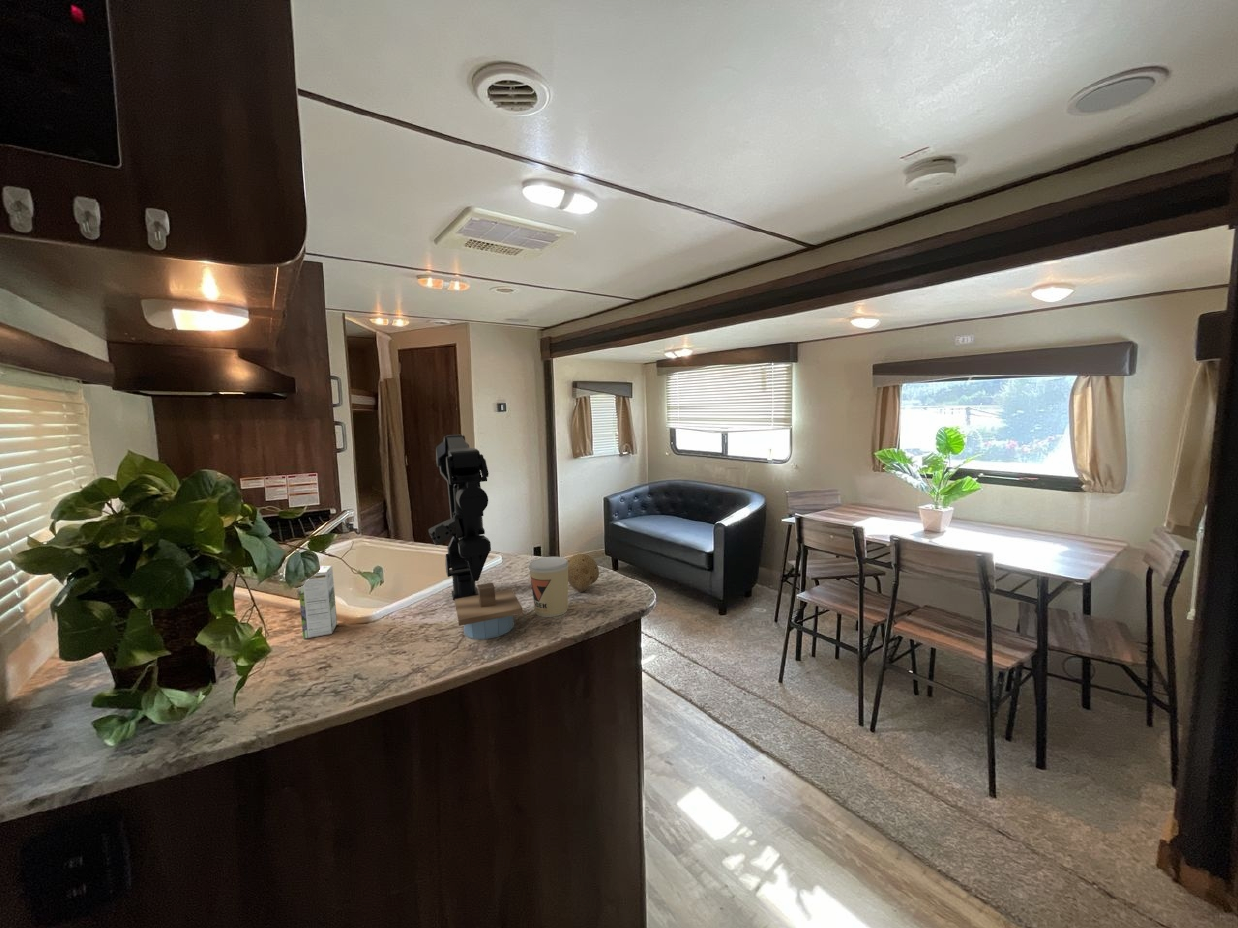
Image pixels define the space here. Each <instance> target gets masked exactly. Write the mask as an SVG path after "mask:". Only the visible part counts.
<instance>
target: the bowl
mask: <svg viewBox="0 0 1238 928" xmlns="http://www.w3.org/2000/svg"><path fill="white" fill-rule="evenodd" d="M514 626H515V622H514V615H512V616H507V617H502V618H497V619H492V620H487V621H482V622H476V623H471V624H466V625H463V632H464V636H465V637H467V638H470V639H473V640H488V639H489V640H490V639H493V638H498V637H501V636H503V635H505V634H507V633H509V632H510V631H511V630H512V629H513V628H514Z"/></svg>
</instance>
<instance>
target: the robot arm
mask: <svg viewBox="0 0 1238 928" xmlns="http://www.w3.org/2000/svg"><path fill="white" fill-rule="evenodd" d="M435 461H436V462H435V463H436V467H437V468H439V473H440V475H441V476H442V478H443V479H444V480H445V482H446V483H447V495H448V503H449V504H448V505H449V516H450V518H449V519H447V520H444V521H442V522H440V523H438V524H436V525H434V526H431V527H430V528H428V534H429V536H430V538H431V539H432V541H433V543H434V546H439V545H441V544H442V543H444V542H445V541H447V540H449V539H450V541H449V543H448V546H447V553H445V563H444V564H445V565H444V566H445V572H446V576H447V578H450V577H451V578H452V588H453V590H452V591H451V597H452V600H453V601H455V599H458V598H464V597H470V596H475V595H479V594H478V587H477V586H476V582H478V581H479V580H480V577H481V575H482V572H483V569H484V566H485V564H486V561H487V559H488V557H489V554H490V553H491V551H492V548H491V547H492V546H491V541H490V539H489V538H488V537H487V536H485V534H486V531H485V528H484V523H483V517H484V511H485V510H486V509H487V507H488V504H489V496H488V494H487V492H486V491H485V490H484V489H483V488H482V487H481V483H482V482H488V477H489V469H488V465H487V460H486V458H484V455H483V454H481V453H480V450H478V449H477V448H473V447H470V444H468V442H467V441H466V437H465V435H464V434H463V435H462V434H447V435H446V436H445V435H444V436H443V441H442V442H440V443H439V444H438V445H436V447H435Z"/></svg>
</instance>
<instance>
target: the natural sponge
mask: <svg viewBox="0 0 1238 928" xmlns="http://www.w3.org/2000/svg"><path fill="white" fill-rule="evenodd" d="M567 562H568V564H569V565H568V585H570V586H571V587H572V588H573V589H574V590H575V591H577V592H580V593H583V592H584V591H586V590H587V589H588V588H589V587H590V586H591V585H592V584H594V583H595V582H596V581H597V580H598V579H599V576H600V569H599V566H598V564H597V562H596V560H595V559H594V558H593V557H591V556H590V555H588V554H585V553H577V554H575V555H573V556H571V557H570V558H569V559H568V560H567Z"/></svg>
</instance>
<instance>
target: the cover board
mask: <svg viewBox="0 0 1238 928" xmlns="http://www.w3.org/2000/svg"><path fill="white" fill-rule="evenodd" d="M477 590H478V594H479V595H475V596H470V597H464V598H458V599H455V600H454V606H455V611H456V616H457V617H456V618H457V621H458V627H460V626H464V625H466V624H471V623H476V622H482V621H487V620H492V619H497V618H502V617H507V616H512V615H513V616H515V615H516V616H517V615H522V614H523V613H524V610H523V609H524V608H523V607H522V605H521V603H520V600H519V599H518V598H517V595H516V594H515V592H514V590H513V589H512V588H510V589H506V590H505V589H504V590H499V591H495V585H494V583H493V582H488V583H483V584H482V583H481V584H478V585H477Z"/></svg>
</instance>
